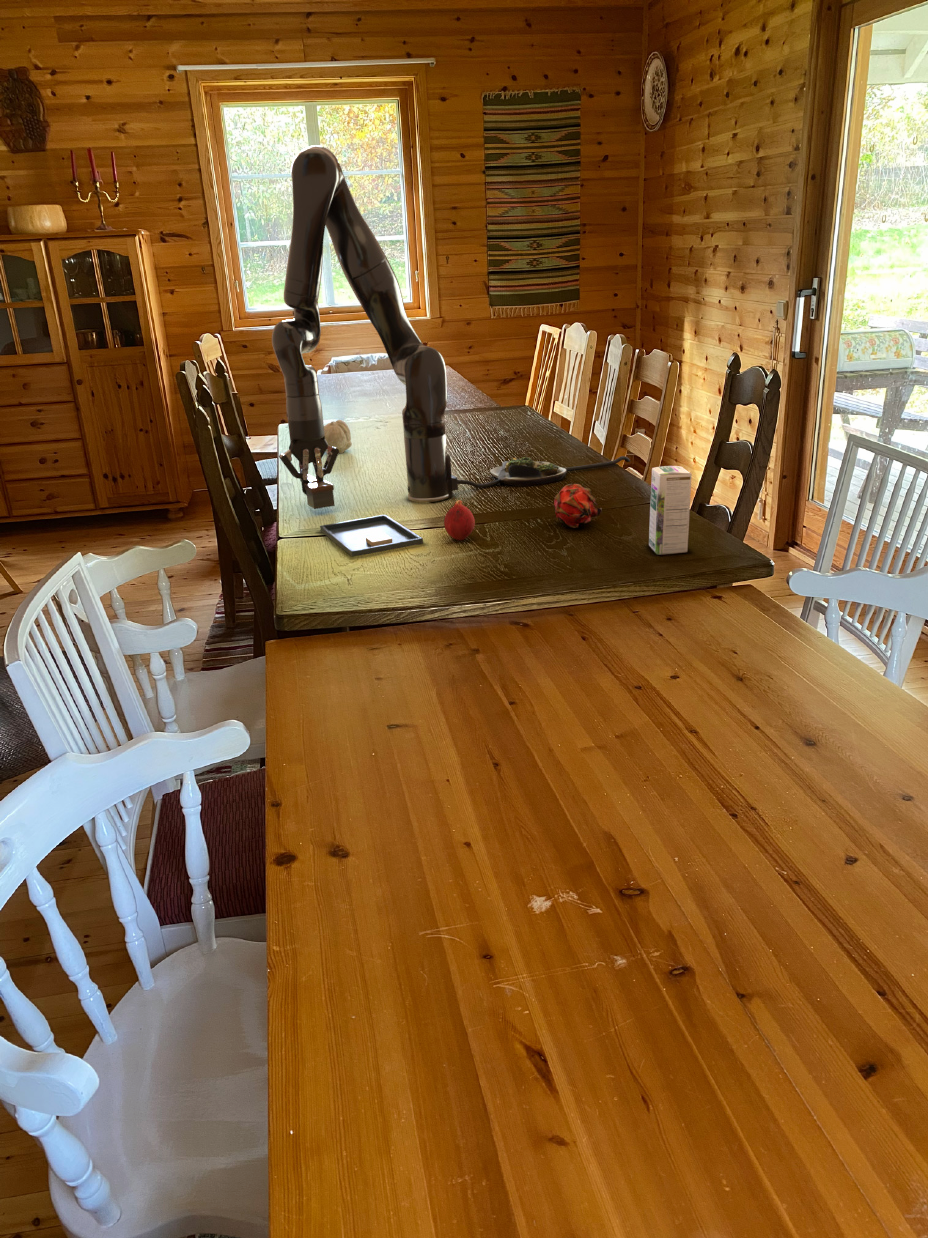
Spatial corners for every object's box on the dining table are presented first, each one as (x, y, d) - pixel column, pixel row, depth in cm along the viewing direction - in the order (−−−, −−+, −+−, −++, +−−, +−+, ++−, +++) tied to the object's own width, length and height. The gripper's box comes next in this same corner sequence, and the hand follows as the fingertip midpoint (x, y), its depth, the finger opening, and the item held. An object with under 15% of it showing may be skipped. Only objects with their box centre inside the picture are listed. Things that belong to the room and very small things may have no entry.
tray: (386, 520, 191) (385, 514, 190) (423, 545, 174) (422, 538, 173) (320, 532, 186) (319, 525, 185) (352, 558, 169) (351, 551, 168)
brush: (335, 505, 199) (333, 483, 197) (313, 509, 197) (311, 486, 195) (317, 494, 210) (314, 472, 209) (296, 497, 208) (293, 476, 207)
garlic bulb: (350, 458, 263) (359, 424, 260) (343, 459, 255) (352, 424, 252) (319, 448, 263) (327, 414, 261) (311, 449, 255) (319, 414, 252)
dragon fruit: (568, 522, 188) (588, 546, 178) (536, 503, 184) (555, 527, 174) (593, 488, 186) (614, 511, 176) (561, 468, 182) (582, 490, 172)
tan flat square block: (385, 538, 178) (384, 533, 178) (392, 543, 175) (392, 538, 174) (365, 541, 177) (365, 536, 176) (372, 547, 173) (372, 542, 173)
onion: (472, 546, 172) (470, 504, 169) (442, 545, 173) (439, 504, 170) (478, 536, 177) (476, 496, 174) (449, 536, 178) (446, 496, 175)
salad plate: (474, 472, 227) (473, 454, 225) (540, 463, 232) (540, 445, 230) (504, 489, 210) (503, 469, 208) (574, 479, 215) (574, 460, 213)
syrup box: (647, 545, 166) (649, 466, 161) (679, 543, 167) (682, 464, 161) (656, 555, 161) (658, 474, 155) (689, 552, 161) (692, 471, 156)
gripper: (278, 422, 191) (288, 503, 198) (341, 414, 197) (348, 493, 203) (269, 417, 198) (279, 495, 204) (330, 410, 203) (338, 486, 209)
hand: (313, 494), depth 203 cm, fingers closed on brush
